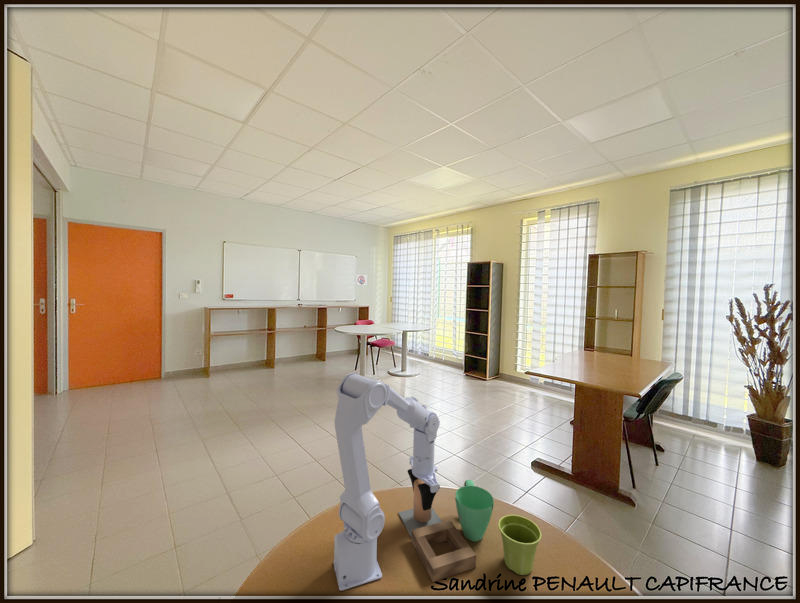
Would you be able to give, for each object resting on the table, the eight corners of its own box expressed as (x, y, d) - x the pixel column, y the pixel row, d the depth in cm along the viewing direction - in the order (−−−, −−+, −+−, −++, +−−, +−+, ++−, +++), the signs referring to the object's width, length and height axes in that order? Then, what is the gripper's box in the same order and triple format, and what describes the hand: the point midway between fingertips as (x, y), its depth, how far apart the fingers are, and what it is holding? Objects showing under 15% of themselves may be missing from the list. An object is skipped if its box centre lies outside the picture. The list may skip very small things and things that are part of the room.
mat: (412, 539, 83) (412, 538, 82) (398, 513, 92) (398, 512, 92) (446, 529, 86) (447, 528, 86) (430, 505, 95) (430, 504, 95)
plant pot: (491, 549, 80) (492, 515, 80) (527, 547, 81) (529, 513, 81) (507, 583, 71) (508, 545, 70) (548, 580, 72) (549, 542, 71)
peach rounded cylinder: (417, 524, 86) (418, 490, 85) (410, 511, 90) (410, 480, 90) (434, 519, 87) (435, 486, 87) (426, 507, 92) (427, 476, 92)
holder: (432, 582, 71) (433, 569, 71) (411, 541, 82) (411, 530, 82) (475, 567, 75) (476, 555, 74) (449, 530, 86) (449, 519, 86)
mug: (496, 550, 80) (498, 511, 79) (456, 548, 80) (457, 509, 80) (483, 509, 94) (485, 476, 94) (450, 507, 95) (451, 474, 94)
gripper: (449, 465, 83) (448, 516, 83) (425, 439, 96) (424, 484, 97) (424, 470, 80) (423, 523, 81) (403, 443, 94) (402, 489, 94)
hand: (422, 502), depth 89 cm, fingers closed on peach rounded cylinder, 5 cm apart
